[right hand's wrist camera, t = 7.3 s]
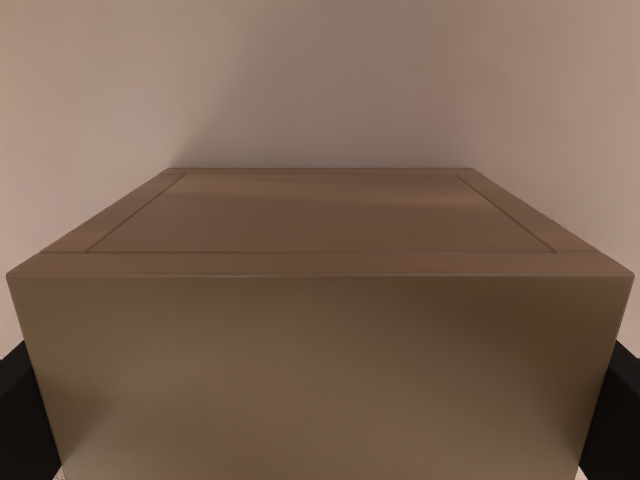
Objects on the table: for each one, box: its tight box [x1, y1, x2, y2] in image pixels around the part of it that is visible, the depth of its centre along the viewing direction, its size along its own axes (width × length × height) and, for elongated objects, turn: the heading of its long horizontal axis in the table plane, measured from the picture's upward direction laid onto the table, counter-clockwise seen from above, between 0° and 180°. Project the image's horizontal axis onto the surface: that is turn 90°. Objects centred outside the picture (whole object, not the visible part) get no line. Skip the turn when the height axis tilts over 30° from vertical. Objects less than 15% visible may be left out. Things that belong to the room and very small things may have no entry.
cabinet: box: [6, 168, 635, 480], centre depth 15 cm, size 17×12×9 cm
